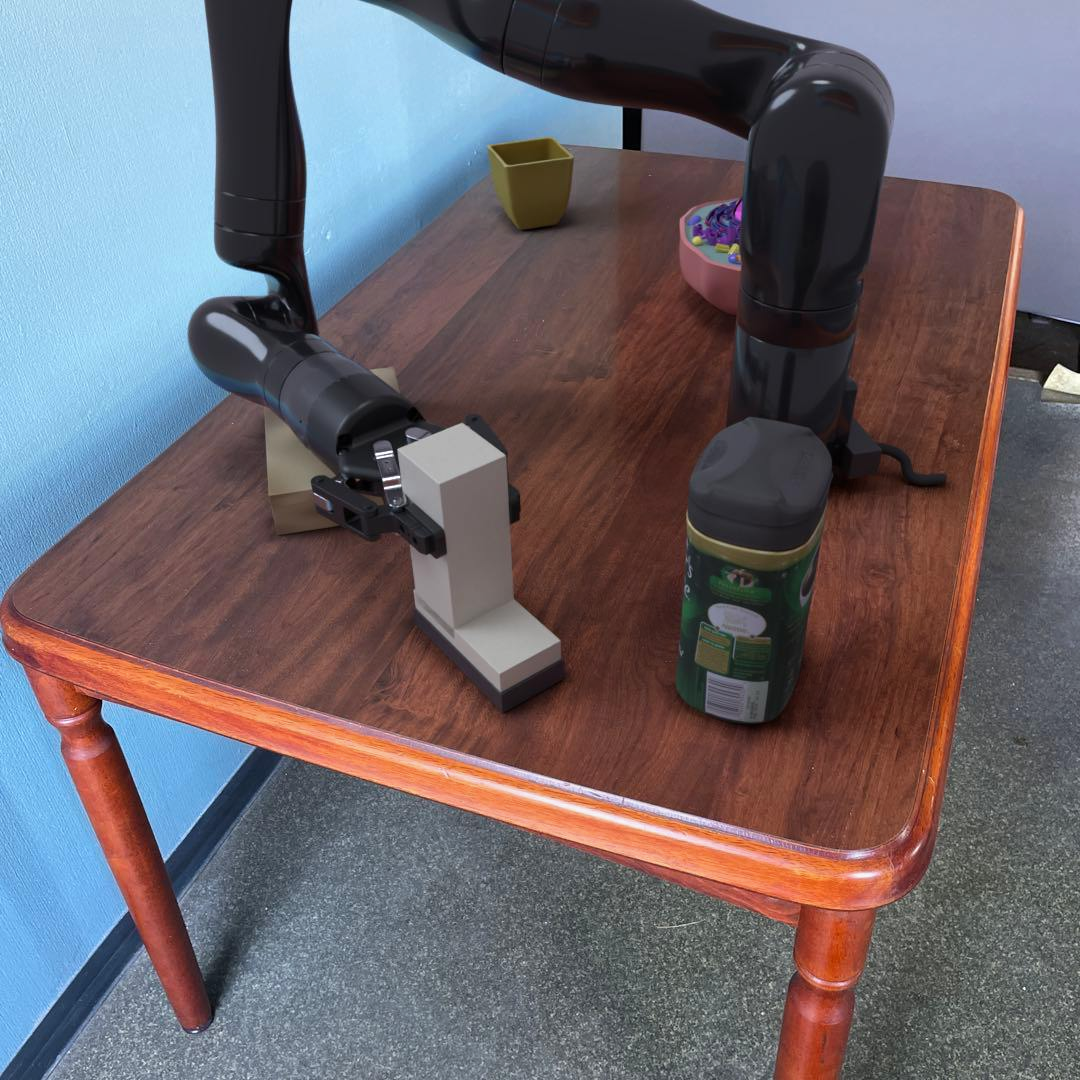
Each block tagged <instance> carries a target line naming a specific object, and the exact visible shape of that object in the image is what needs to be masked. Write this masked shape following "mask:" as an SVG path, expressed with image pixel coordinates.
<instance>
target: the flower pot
mask: <svg viewBox="0 0 1080 1080" xmlns="http://www.w3.org/2000/svg"><path fill="white" fill-rule="evenodd" d="M487 153H488V160H489V165H490V171H491V176H492V182H493V186H494V189H495V192H496V196H497V199H498V200H499V202H500V204H501V206H502V208H503V210H504V212H505V213H506V215H507V217H508V218H509V219H510V221H511V222H512V223H513V224H514V225H515V227H516V228H517V230H521V231H523V230H531V229H535V228H541V227H548V226H555V225H557V224H558V223H559V222H560V220H561V218H562V217H563V216H564V213H565V211H566V209H567V207H568V205H569V202H570V196H571V190H572V182H573V174H574V173H573V172H574V161H575V156H574V155H573V154H572V153H571V152H569V151H568V150H567V149H566V148H565V147H564V146H563V145H562V144H561V143H560V142H559V141H558V140H557V139H556V138H555V137H553V136H547V137H546V136H545V137H538V138H531V139H523V140H515V141H508V142H500V143H493V144H488V145H487Z"/></svg>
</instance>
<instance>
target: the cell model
mask: <svg viewBox="0 0 1080 1080" xmlns="http://www.w3.org/2000/svg"><path fill="white" fill-rule="evenodd" d="M742 199H743V194H742V195H741V196H740V197H735V198H729V199H723V200H713V201H707V202H702V203H700V204H697V205H695V206H693V207H691V208H690V209H689V210H688V211H687V212H686V213H684V214H683V216H682V217H680V218H679V241H678V259H679V269H680V272H681V276H682V278H683V280H684V281H685V282H686V283H687V284H688V285H689V286H690V287H691V288H692V289H693V290H694V291H695V292H696V293H698V294H699V296H701V297H702V298H703V299H704V300H706V302H708V303H709V304H711V305H712V306H713V307H715V308H716V309H718V310H719V311H721V312H724V313H725V314H727V315H731V316H735V317H736V316H737V305H738V295H739V285H740V272H741V257H740V251H739V238H740V226H741V212H742Z"/></svg>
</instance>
